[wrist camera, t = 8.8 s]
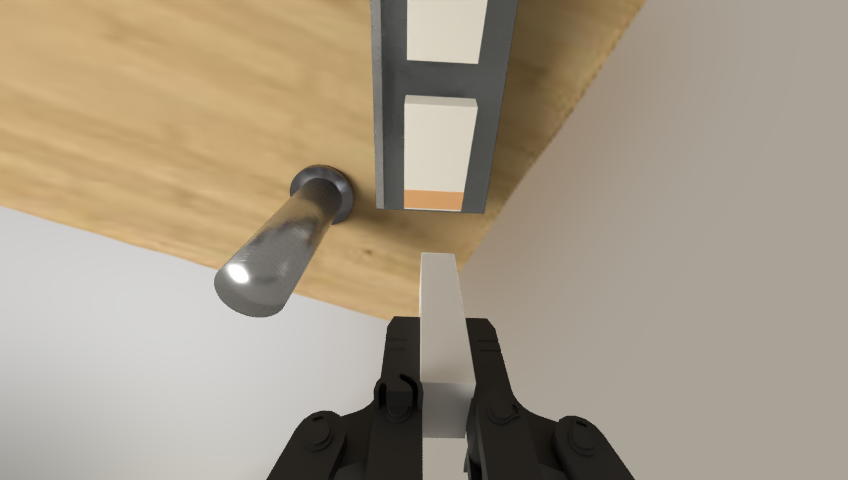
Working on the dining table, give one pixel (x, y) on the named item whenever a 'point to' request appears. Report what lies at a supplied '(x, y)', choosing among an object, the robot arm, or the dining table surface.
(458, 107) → the paddle
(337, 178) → the post
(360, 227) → the dining table surface
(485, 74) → the grey channel rail
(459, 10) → the paddle
